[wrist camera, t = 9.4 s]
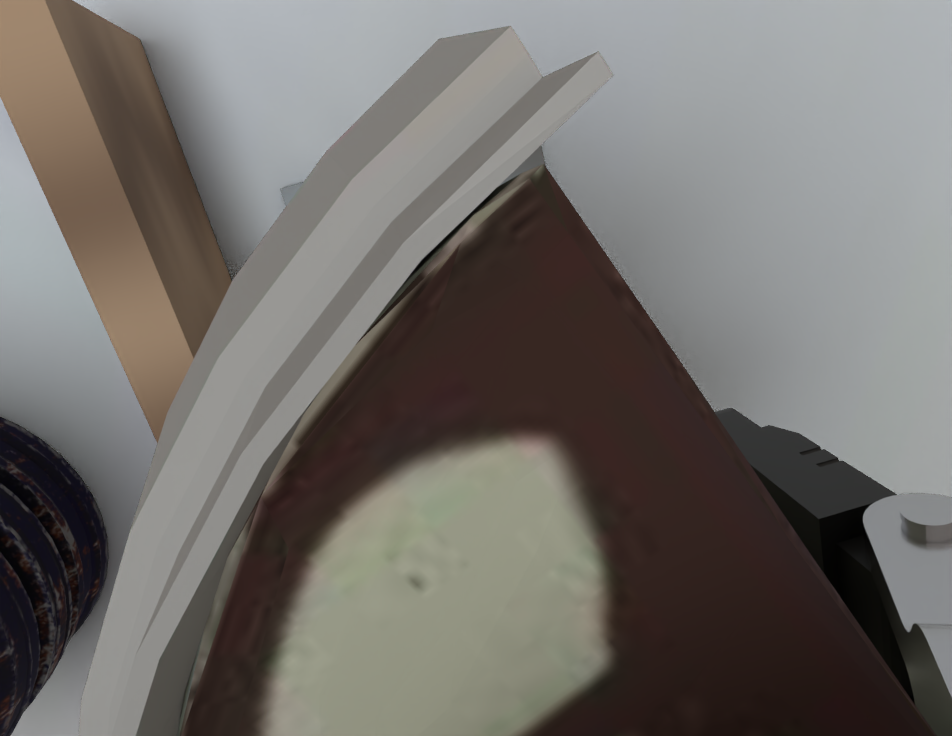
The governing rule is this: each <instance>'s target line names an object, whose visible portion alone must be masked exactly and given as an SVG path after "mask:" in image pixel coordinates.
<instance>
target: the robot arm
mask: <svg viewBox="0 0 952 736" xmlns="http://www.w3.org/2000/svg"><path fill="white" fill-rule="evenodd" d="M715 414H716V415H717V417H718V418H719V420H720V421H721V423H722V424H723V426H724V427H725V428H726V430H727V431H728V433H729V434H730V436H731V437H732V439H733V440H734V442H735V443H736V445H737V446H738V448H739V449H740V451H741V452H742V454H743V455H744V457H745V458H746V459H747V461H748V462H749V464H750V465H751V467H752V468H753V470H754V471H755V473H756V474H757V476H758V477H759V479H760V480H761V482H762V483H763V485H764V486H765V488H766V489H767V490H768V492H769V493H770V495H771V496H772V498H773V499H774V501H775V502H776V504H777V505H778V507H779V508H780V510H781V511H782V513H783V514H784V516H785V517H786V519H787V520H788V521H789V523H790V524H791V526H792V527H793V529H794V530H795V532H796V533H797V535H798V536H799V538H800V539H801V541H802V542H803V544H804V545H805V547H806V548H807V550H808V551H809V552H810V554H811V555H812V557H813V558H814V560H815V561H816V563H817V564H818V566H819V567H820V569H821V570H822V571H823V573H824V574H825V576H826V577H827V579H828V580H829V582H830V583H831V584H832V586H833V587H834V589H835V590H836V592H837V593H838V595H839V596H840V597H841V599H842V600H843V602H844V603H845V605H846V606H847V608H848V609H849V610H850V612H851V613H852V615H853V616H854V618H855V619H856V621H857V622H858V623H859V625H860V626H861V628H862V629H863V631H864V632H865V634H866V635H867V636H868V638H869V639H870V641H871V642H872V644H873V645H874V647H875V648H876V649H877V651H878V652H879V654H880V655H881V657H882V658H883V660H884V661H885V662H886V664H887V665H888V667H889V668H890V670H891V671H892V673H893V674H894V675H895V677H896V678H897V680H898V681H899V683H900V684H901V686H902V687H903V688H904V690H905V691H906V693H907V694H908V696H909V697H910V699H911V700H912V701H913V703H914V704H915V706H916V707H917V709H918V710H919V712H920V713H921V714H922V716H923V717H924V719H925V720H926V721H927V723H928V724H929V726H930V727H931V728H932V730H933V731H934V732H935V734H936V735H937V736H952V497H949V496H944V495H937V494H927V493H909V494H899V495H897V494H895V493H894V492H892V491H890V490H889V489H887V488H886V487H884V486H882V485H881V484H879V483H878V482H876V481H874V480H873V479H871V478H870V477H868V476H866V475H865V474H863V473H862V472H860V471H858V470H857V469H855V468H854V467H852V466H850V465H849V464H847V463H846V462H844V461H839V460H838V458H837V457H836V456H834V455H833V454H831V453H829V452H828V451H826V450H825V449H823V450H821V448H820V446H818V445H817V444H815V443H813V442H812V441H810V440H809V439H807V438H805V437H804V436H802V435H801V434H799V433H796V432H792V431H788V430H785V429H781V428H777V427H774V426H770V425H768V426H765V427H762V428H761V427H760V426H758V425H757V424H755V423H754V422H752V421H751V420H749V419H748V418H746V417H745V416H743V415H742V414H740V413H739V412H737V411H736V410H734V409H732V408H727V409H724V410H720V411H717V412H715Z"/></svg>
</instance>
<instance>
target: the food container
mask: <svg viewBox="0 0 952 736" xmlns="http://www.w3.org/2000/svg"><path fill="white" fill-rule="evenodd" d="M612 76H613V73H612V72H611V70H610V69H609V67H608V65H607V64H606V62H605V61H604V59H603V57H602V56H601V54H600V53H599V51H598V52H596V53H594V54H592V55H590V56H587V57H585V58H583V59H581V60H579V61H577V62H575V63H572V64H570V65H568V66H566V67H564V68H562V69H559V70H557V71H555V72H553V73H551V74H549V75H547V76H544V77H542V75H541V74H540V72H539V70H538V68H537V67H536V65H535V63H534V62H533V60H532V58H531V56H530V55H529V53H528V52H527V50H526V49H525V47H524V45H523V44H522V42H521V41H520V39H519V38H518V36H517V35H516V33H515V32H514V30H513V29H512V27H511V26H508V27H502V28H497V29H491V30H486V31H480V32H475V33H469V34H463V35H458V36H452V37H447V38H441V39H438V40H437V41H436V42H435V43H434V44H433V45H432V46H431V47H430V48H429V49H428V50H427V51H426V52H425V53H424V54H423V55H422V56H421V57H420V58H419V59H418V60H417V61H416V62H415V63H414V64H413V65H412V66H411V67H410V68H409V69H408V70H407V71H406V72H405V73H404V74H403V75H402V76H401V77H400V78H399V79H398V80H397V81H396V82H395V83H394V84H393V85H392V86H391V87H390V88H389V89H388V90H387V91H386V92H385V93H384V94H383V95H382V96H381V97H380V98H379V99H378V100H377V101H376V102H375V103H374V104H373V105H372V106H371V107H370V108H369V109H368V110H367V111H366V112H365V113H364V114H363V115H362V116H361V117H360V118H359V119H358V120H357V121H356V122H355V123H354V124H353V125H352V126H351V127H350V128H349V129H348V130H347V131H346V132H345V133H344V134H343V135H342V136H341V137H340V138H339V139H338V140H337V141H336V142H335V143H334V144H333V145H332V146H331V147H330V148H329V149H328V150H327V151H326V153H325V154H324V155H323V157H322V158H321V159H320V161H319V162H318V164H317V165H316V166H315V168H314V169H313V170H312V172H311V173H310V175H309V176H308V177H307V179H306V180H305V181H304V183H303V184H302V186H301V187H300V188H299V190H298V191H297V192H296V194H295V195H294V197H293V198H292V199H291V201H290V202H289V203H288V205H287V206H286V208H285V209H284V210H283V212H282V213H281V214H280V216H279V217H278V219H277V220H276V221H275V223H274V224H273V225H272V227H271V228H270V229H269V231H268V232H267V234H266V235H265V236H264V238H263V239H262V240H261V242H260V243H259V245H258V246H257V247H256V249H255V250H254V251H253V253H252V254H251V256H250V257H249V258H248V260H247V261H246V262H245V264H244V265H243V267H242V268H241V269H240V271H239V272H238V273H237V275H236V276H235V278H234V279H233V280H232V282H231V284H230V286H229V289H228V291H227V293H226V295H225V297H224V299H223V301H222V303H221V305H220V307H219V309H218V311H217V313H216V315H215V317H214V319H213V321H212V323H211V325H210V327H209V329H208V331H207V333H206V335H205V337H204V339H203V341H202V343H201V345H200V347H199V349H198V351H197V353H196V355H195V357H194V359H193V361H192V364H191V366H190V368H189V370H188V372H187V374H186V376H185V378H184V380H183V382H182V384H181V386H180V388H179V390H178V392H177V394H176V396H175V398H174V400H173V402H172V404H171V406H170V408H169V410H168V412H167V415H166V419H165V422H164V425H163V428H162V431H161V434H160V438H159V441H158V444H157V447H156V450H155V453H154V457H153V460H152V463H151V466H150V469H149V472H148V476H147V479H146V482H145V485H144V488H143V491H142V494H141V498H140V501H139V504H138V507H137V510H136V513H135V517H134V520H133V523H132V526H131V529H130V532H129V536H128V539H127V543H126V546H125V550H124V553H123V556H122V560H121V563H120V567H119V570H118V574H117V577H116V581H115V584H114V588H113V591H112V594H111V598H110V601H109V605H108V608H107V612H106V615H105V619H104V622H103V626H102V629H101V632H100V636H99V639H98V643H97V646H96V650H95V653H94V657H93V660H92V664H91V667H90V671H89V674H88V677H87V681H86V684H85V688H84V691H83V695H82V698H81V709H80V722H79V735H78V736H937V735H936V734H935V732H934V731H933V730H932V728H931V727H930V726H929V724H928V723H927V721H926V720H925V719H924V717H923V716H922V714H921V713H920V712H919V710H918V709H917V707H916V706H915V704H914V703H913V701H912V700H911V699H910V697H909V696H908V694H907V693H906V691H905V690H904V688H903V687H902V686H901V684H900V683H899V681H898V680H897V678H896V677H895V675H894V674H893V673H892V671H891V670H890V668H889V667H888V665H887V664H886V662H885V661H884V660H883V658H882V657H881V655H880V654H879V652H878V651H877V649H876V648H875V647H874V645H873V644H872V642H871V641H870V639H869V638H868V636H867V635H866V634H865V632H864V631H863V629H862V628H861V626H860V625H859V623H858V622H857V621H856V619H855V618H854V616H853V615H852V613H851V612H850V610H849V609H848V608H847V606H846V605H845V603H844V602H843V600H842V599H841V597H840V596H839V595H838V593H837V592H836V590H835V589H834V587H833V586H832V584H831V583H830V582H829V580H828V579H827V577H826V576H825V574H824V573H823V571H822V570H821V569H820V567H819V566H818V564H817V563H816V561H815V560H814V558H813V557H812V555H811V554H810V552H809V551H808V550H807V548H806V547H805V545H804V544H803V542H802V541H801V539H800V538H799V536H798V535H797V533H796V532H795V530H794V529H793V527H792V526H791V524H790V523H789V521H788V520H787V519H786V517H785V516H784V514H783V513H782V511H781V510H780V508H779V507H778V505H777V504H776V502H775V501H774V499H773V498H772V496H771V495H770V493H769V492H768V490H767V489H766V488H765V486H764V485H763V483H762V482H761V480H760V479H759V477H758V476H757V474H756V473H755V471H754V470H753V468H752V467H751V465H750V464H749V462H748V461H747V459H746V458H745V457H744V455H743V454H742V452H741V451H740V449H739V448H738V446H737V445H736V443H735V442H734V440H733V439H732V437H731V436H730V434H729V433H728V431H727V430H726V428H725V427H724V426H723V424H722V423H721V421H720V420H719V418H718V417H717V415H716V414H715V412H714V411H713V409H712V408H711V406H710V405H709V403H708V402H707V400H706V399H705V398H704V396H703V395H702V393H701V392H700V390H699V389H698V387H697V386H696V384H695V383H694V381H693V380H692V378H691V377H690V375H689V374H688V372H687V371H686V369H685V368H684V367H683V365H682V364H681V362H680V361H679V359H678V358H677V356H676V355H675V353H674V352H673V350H672V349H671V347H670V346H669V345H668V343H667V342H666V340H665V339H664V337H663V336H662V334H661V333H660V332H659V330H658V329H657V327H656V326H655V324H654V323H653V321H652V320H651V319H650V317H649V316H648V314H647V313H646V311H645V310H644V308H643V307H642V306H641V304H640V303H639V301H638V300H637V298H636V297H635V295H634V294H633V293H632V291H631V290H630V288H629V287H628V285H627V284H626V282H625V281H624V280H623V278H622V277H621V275H620V274H619V272H618V271H617V269H616V268H615V266H614V265H613V264H612V262H611V261H610V259H609V258H608V256H607V255H606V253H605V252H604V251H603V249H602V248H601V246H600V245H599V243H598V242H597V240H596V239H595V238H594V236H593V235H592V233H591V232H590V230H589V229H588V227H587V226H586V225H585V223H584V222H583V220H582V219H581V217H580V216H579V214H578V213H577V212H576V210H575V209H574V207H573V206H572V204H571V203H570V201H569V200H568V199H567V197H566V196H565V194H564V193H563V191H562V190H561V188H560V187H559V185H558V184H557V183H556V181H555V180H554V178H553V177H552V175H551V174H550V172H549V171H548V170H547V168H546V167H545V165H544V164H542V165H540V166H537V167H535V168H533V169H530V170H528V171H526V172H523V173H521V174H519V175H518V176H516V177H514V178H512V179H511V180H509V181H507V182H505V183H504V184H502V185H500V184H501V183H502V182H503V181H504V180H505V179H506V178H507V177H508V176H509V175H510V174H511V173H513V172H514V171H515V170H516V169H517V168H518V167H519V166H520V165H521V164H522V163H523V162H524V161H525V160H526V159H527V158H528V157H529V156H530V155H531V154H532V153H533V152H534V151H535V150H536V149H537V148H538V147H540V146H541V145H542V144H543V143H544V142H545V141H546V140H547V139H548V138H549V137H550V136H551V135H552V134H553V133H554V132H555V131H556V130H557V129H558V128H559V127H560V126H561V125H562V124H563V123H564V122H566V121H567V120H568V119H569V118H570V117H571V116H572V115H573V114H574V113H575V112H576V111H577V110H578V109H579V108H580V107H581V106H582V105H583V104H584V103H585V102H586V101H587V100H588V99H589V98H590V97H592V96H593V95H594V94H595V93H596V92H597V91H598V90H599V89H600V88H601V87H602V86H603V85H604V84H605V83H606V82H607V81H608V80H609V79H610V78H611V77H612ZM499 185H500V186H499Z"/></svg>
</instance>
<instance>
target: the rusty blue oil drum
mask: <svg viewBox="0 0 952 736" xmlns="http://www.w3.org/2000/svg"><path fill="white" fill-rule="evenodd" d="M107 564H108V544H107V535H106V531H105V527H104V523H103V519H102V516H101V513H100V511H99V509H98V507H97V505H96V502H95V500H94V498H93V496H92V494H91V493H90V491H89V490H88V488H87V487H86V485H85V484H84V482H83V481H82V479H81V478H80V476H79V475H78V474H77V473H76V471H75V470H74V469H73V468H72V467H71V466H70V465H69V464H68V463H67V462H66V460H65V459H64V458H63V457H62V456H61V455H59V454H58V453H57V452H56V451H55V450H53V449H52V448H51V447H50V446H49V445H47V444H46V443H45V442H44V441H43V440H41V439H40V438H38V437H36V436H35V435H33V434H32V433H30V432H28V431H27V430H25V429H24V428H22V427H20V426H19V425H17V424H15V423H12V422H10V421H8V420H6V419H4V418H1V417H0V736H10V735H11V734H12V732H13V731H14V729H15V727H16V725H17V723H18V721H19V719H20V718H21V716H22V714H23V712H24V711H25V710H26V709H27V707H28V706H29V705H30V704H31V703H32V702H33V700H34V699H35V697H36V696H37V694H38V693H39V692H40V690H41V689H42V687H43V686H44V685H45V683H46V682H47V680H48V679H49V678H50V676H51V675H52V673H53V671H54V670H55V668H56V666H57V664H58V662H59V661H60V659H61V657H62V655H63V653H64V650H65V647H66V646H67V644H68V642H69V640H70V639H71V637H72V636H73V635H74V634H75V632H76V631H77V630H78V629H79V628H80V626H81V625H82V624H83V623H84V621H85V620H86V618H87V617H88V616H89V614H90V612H91V611H92V609H93V607H94V605H95V604H96V602H97V600H98V598H99V596H100V594H101V591H102V588H103V585H104V582H105V579H106V572H107Z"/></svg>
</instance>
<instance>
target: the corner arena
mask: <svg viewBox="0 0 952 736" xmlns="http://www.w3.org/2000/svg"><path fill="white" fill-rule="evenodd" d="M0 97H1V99H2V101H3V104H4V106H5V108H6V110H7V112H8V115H9V117H10V119H11V121H12V123H13V126H14V128H15V130H16V132H17V135H18V137H19V139H20V141H21V143H22V146H23V148H24V150H25V152H26V154H27V157H28V159H29V161H30V163H31V165H32V168H33V170H34V172H35V174H36V176H37V179H38V181H39V183H40V185H41V187H42V190H43V192H44V194H45V196H46V198H47V201H48V203H49V205H50V207H51V209H52V212H53V214H54V216H55V218H56V221H57V223H58V225H59V227H60V229H61V232H62V234H63V236H64V238H65V240H66V243H67V245H68V247H69V249H70V251H71V254H72V256H73V258H74V260H75V262H76V265H77V267H78V269H79V271H80V273H81V276H82V278H83V280H84V282H85V284H86V287H87V289H88V291H89V293H90V296H91V298H92V300H93V302H94V304H95V307H96V309H97V311H98V313H99V315H100V318H101V320H102V322H103V324H104V326H105V329H106V331H107V333H108V335H109V337H110V340H111V342H112V344H113V346H114V348H115V351H116V353H117V355H118V357H119V359H120V362H121V364H122V366H123V368H124V371H125V373H126V375H127V377H128V379H129V382H130V384H131V386H132V388H133V390H134V393H135V395H136V397H137V399H138V401H139V404H140V406H141V408H142V410H143V412H144V415H145V417H146V419H147V421H148V423H149V426H150V428H151V430H152V432H153V434H154V437H155V439H156V441H157V443H158V441H159V438H160V434H161V431H162V428H163V425H164V422H165V419H166V415H167V412H168V410H169V408H170V406H171V404H172V402H173V400H174V398H175V396H176V394H177V392H178V390H179V388H180V386H181V384H182V382H183V380H184V378H185V376H186V374H187V372H188V370H189V368H190V366H191V364H192V361H193V359H194V357H195V355H196V353H197V351H198V349H199V347H200V345H201V343H202V341H203V339H204V337H205V335H206V333H207V331H208V329H209V327H210V325H211V323H212V321H213V319H214V317H215V315H216V313H217V311H218V309H219V307H220V305H221V303H222V301H223V299H224V297H225V295H226V293H227V291H228V289H229V286H230V284H231V282H232V280H231V278H230V275H229V272H228V270H227V267H226V264H225V262H224V259H223V257H222V254H221V251H220V249H219V246H218V243H217V241H216V238H215V236H214V233H213V230H212V228H211V225H210V222H209V220H208V217H207V215H206V212H205V209H204V207H203V204H202V201H201V199H200V196H199V194H198V191H197V188H196V186H195V183H194V180H193V178H192V175H191V173H190V170H189V167H188V165H187V162H186V159H185V157H184V154H183V151H182V149H181V146H180V144H179V141H178V138H177V136H176V133H175V130H174V128H173V125H172V123H171V120H170V117H169V115H168V112H167V109H166V107H165V104H164V102H163V99H162V96H161V94H160V91H159V88H158V86H157V83H156V81H155V78H154V75H153V73H152V70H151V67H150V65H149V62H148V60H147V57H146V54H145V52H144V49H143V46H142V44H141V41H140V39H139V38H137V37H135V36H134V35H132V34H130V33H128V32H127V31H125V30H123V29H121V28H120V27H118V26H116V25H114V24H113V23H111V22H109V21H107V20H106V19H104V18H102V17H100V16H99V15H97V14H95V13H93V12H92V11H90V10H88V9H86V8H85V7H83V6H81V5H79V4H78V3H76V2H74V1H72V0H0ZM542 164H544V165H545V162H544V157H543V152H542V148H541V146H540V147H538V148H537V149H536V150H535V151H534V152H533V153H532V154H531V155H530V156H529V157H528V158H527V159H526V160H525V161H524V162H523V163H522V164H521V165H520V166H519V167H518V168H517V169H516V170H515V171H514V172H513V173H511V174H510V175H509V176H508V177H507V178H506V179H505V180H504V181H503V182H502V183H501V184H500V185H502V184H504V183H505V182H507V181H509V180H511V179H512V178H514V177H516V176H518V175H519V174H521V173H523V172H526V171H528V170H530V169H533V168H535V167H537V166H540V165H542ZM545 167H546V166H545ZM302 184H303V183H300V184H296V185H293V186H289V187H285V188H282V189H280V190H281V193H282V196H283V199H284V202H285V205H286V206H287V205H288V203H289V202H290V201H291V199H292V198H293V197H294V195H295V194H296V192H297V191H298V190H299V188H300V187H301V186H302ZM500 185H499V186H500Z"/></svg>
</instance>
